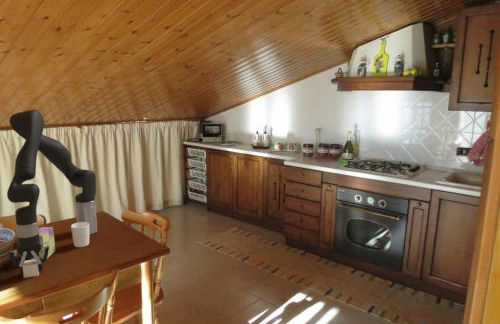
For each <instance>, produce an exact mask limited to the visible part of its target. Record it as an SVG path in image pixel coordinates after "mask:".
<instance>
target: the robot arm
mask: <svg viewBox="0 0 500 324" xmlns="http://www.w3.org/2000/svg"><path fill="white" fill-rule="evenodd" d="M9 124H10V127H11V129H13V131H14V132H15V133H16V134H17V135H19V136H20V137H21V138H22V139H24V140H25V141H24V143H23V145H22V146H21V148H20V150H19V151H18V153H17V155H16V159H15V166H14V173H13V176H12V177H13V178H12V179H11V182H10V185H9V186H8V189H7V192H6V196H7V199H8V201H9V202H11V203H14V204H16V203H17V204H19V203H28V204H27V205H26V206H22V207H19V208H17V209H16V210H15V212H14V215H15V224H16V227H15V231H16V232H15V235H16V241H17V248H16V249H15V250H14V249H12V250H10V252H9V257H10V260H11V262H12V264H13V266H14V267H19V271H20V275H21V274H22V275H23V264H24V262H25V261H26V259H32V258H35V260H36V261H37V262H38V270H39V274H40V273H42V271H43V268H44V266H43V263H46V262H47V259H48V258H49V257H48V252H49V246H46V247H42V246H41V244H40V237H39V228H40V227H39V224H38V215H37V208H38V207H37V206H38V201H39V198H40V193H41V192H40V191H41V190H40V187H39V186H38V185H37V184H36V183H25V182H28V181H31V180H34V179H35V177H36V173H37V172H36V171H37V170H36V169H37V157H38V151H39V152H40V154H42V155H43V156H44V157H45V158H46V160H48V161H49V162H50V163H51V164H52V165H53V166H54V167H55V168H56V169H57V170H58V171H60V173H62V174H63V176H64V177H65V178H66V179H67V180H68V181H69V183H70V184H71V185H72V186H74V187H76V188H81V192H80V193H77V194H76V195H75V196H74V198H75V200H74V201H75V213H76V223H78V222H88V223H89V235H93V234H95V233H98V222H97V221H98V220H97V212H96V211H97V209H96V208H97V207H96V194H97V177H96V174H95V172H94V171H93V170H90V169H83V168H79V167H78V166H76V165H75V164H74V163H73V162H72V155H71V152H70V150H69V149H68V148H67V147H66V146H65V145H64V144H63V143H62V142H61V141H60V140H57V139H55V138H53V137H50V136H47V135H44V134H43V132H44V128H45V119H44V117H43V114H42V113H41V111H39V110H38V109H29V110H25V111H20V112H17V113H13V114H11V115H10V117H9ZM40 250H43V252H45V253H44V258H41V257H40V254H39V252H40ZM17 254H18V255H20V257H21V259H20V261H19V259H18V257H17ZM47 257H48V258H47Z"/></svg>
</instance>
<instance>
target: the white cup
mask: <svg viewBox="0 0 500 324" xmlns="http://www.w3.org/2000/svg"><path fill="white" fill-rule="evenodd" d="M70 230H71V236H72V242H73V247H75V248H83V247H87V246H88V245H89V244H90V234H89V223H88V222H78V223H77V222H75V223H72V224H71V225H70Z"/></svg>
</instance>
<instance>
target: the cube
mask: <svg viewBox="0 0 500 324" xmlns="http://www.w3.org/2000/svg"><path fill="white" fill-rule="evenodd" d="M39 275H40V273H39V270H38V262H37V261H36V260H35V259H34V260H32V259H28V260H26V259H25V261H24V264H23V274H22V276H23V278H24V279H25V278H32V277H38V276H39Z"/></svg>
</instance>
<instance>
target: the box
mask: <svg viewBox="0 0 500 324" xmlns="http://www.w3.org/2000/svg"><path fill="white" fill-rule="evenodd" d="M39 237H40V244H41V246H42V247H46V246H49V252H48V257H47V259H49V258H50V257H51V256H52V255H53V254H54V253H55V252H56V243H55V233H54V227H53V226H44V227H43V226H42V227H39ZM44 253H45V252H43V250H40V252H39V254H40V257H41V258H44ZM34 259H35V258H31V260H34Z"/></svg>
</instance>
